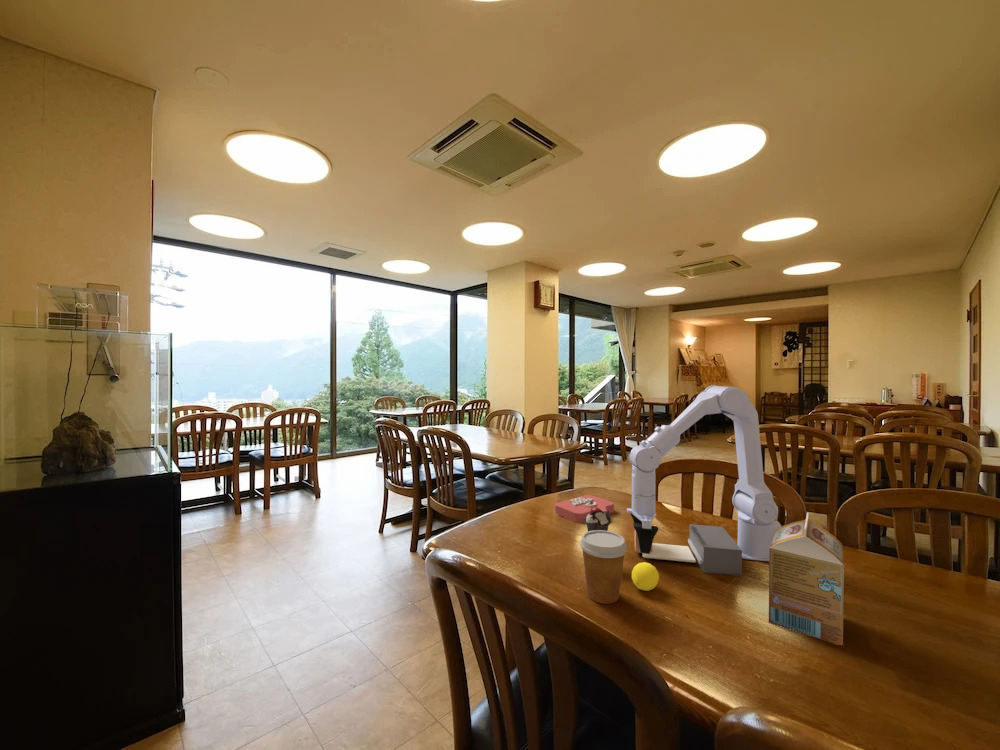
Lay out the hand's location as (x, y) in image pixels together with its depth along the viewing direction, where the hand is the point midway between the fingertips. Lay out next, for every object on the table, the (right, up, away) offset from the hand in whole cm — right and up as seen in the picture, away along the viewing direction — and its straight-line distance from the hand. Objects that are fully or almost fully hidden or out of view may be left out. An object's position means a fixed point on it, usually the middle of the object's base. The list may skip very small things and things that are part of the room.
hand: (643, 546), depth 104 cm
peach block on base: (+5, -1, -1) cm, 5 cm away
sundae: (-13, -2, -4) cm, 14 cm away
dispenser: (+16, -2, -4) cm, 17 cm away
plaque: (-8, -2, +29) cm, 30 cm away
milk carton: (+21, -3, -27) cm, 35 cm away
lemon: (-5, -2, -16) cm, 17 cm away
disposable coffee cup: (-15, -2, -19) cm, 24 cm away
